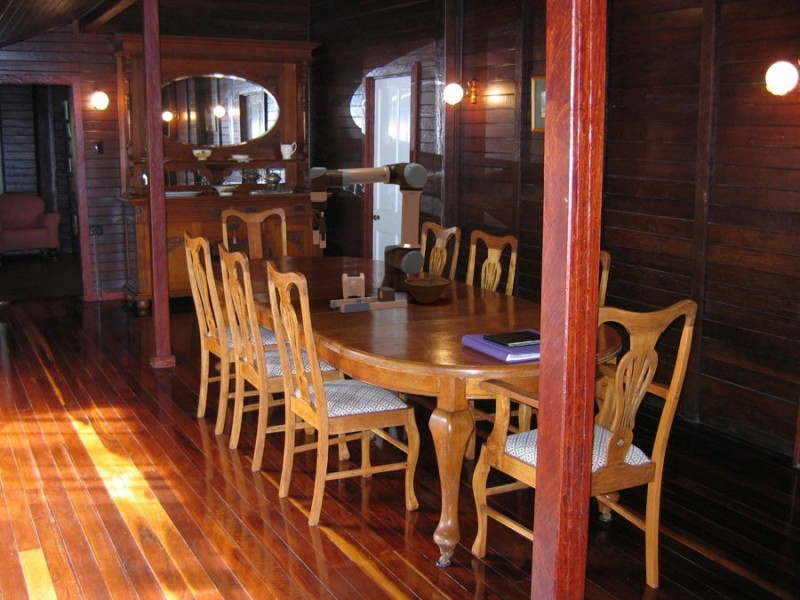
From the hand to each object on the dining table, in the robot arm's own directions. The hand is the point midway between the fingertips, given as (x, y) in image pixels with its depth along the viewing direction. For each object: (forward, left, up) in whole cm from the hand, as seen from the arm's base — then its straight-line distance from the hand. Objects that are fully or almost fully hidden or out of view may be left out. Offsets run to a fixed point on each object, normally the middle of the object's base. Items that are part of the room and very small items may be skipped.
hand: (319, 246), depth 435 cm
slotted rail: (-16, +21, -27) cm, 38 cm away
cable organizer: (-18, -2, -27) cm, 33 cm away
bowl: (-47, +20, -27) cm, 58 cm away
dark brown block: (-25, +21, -27) cm, 42 cm away
